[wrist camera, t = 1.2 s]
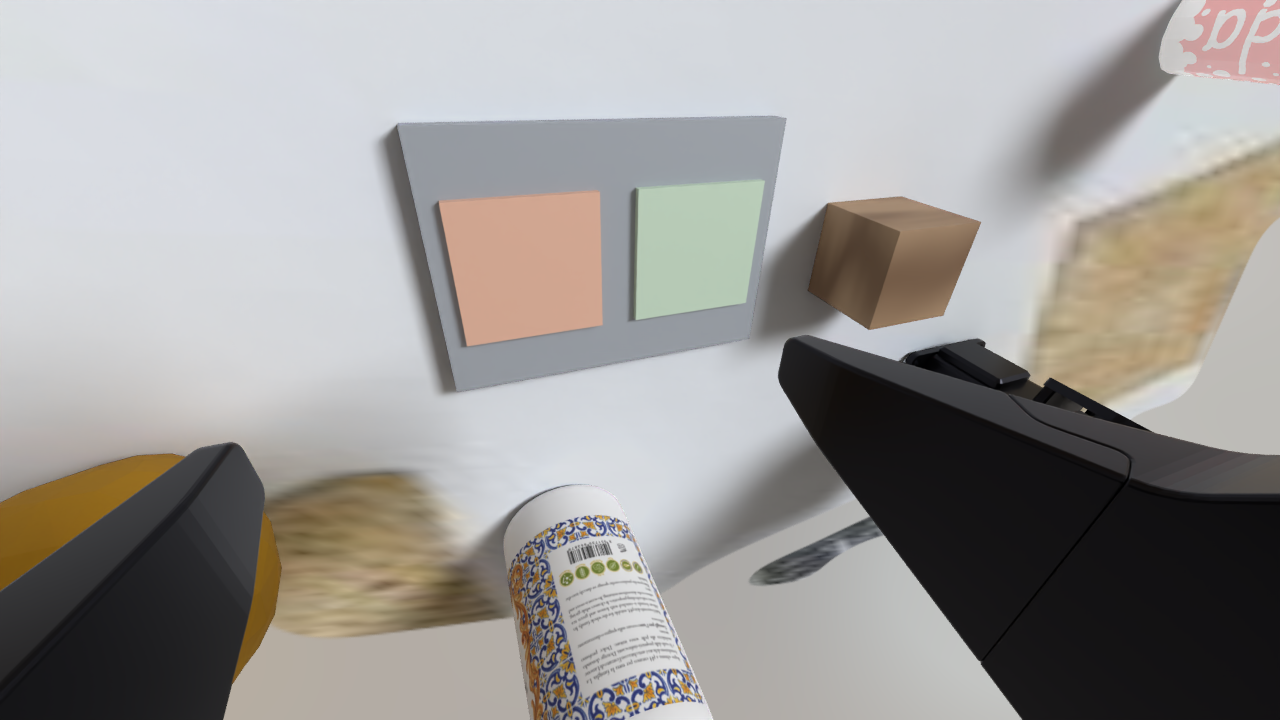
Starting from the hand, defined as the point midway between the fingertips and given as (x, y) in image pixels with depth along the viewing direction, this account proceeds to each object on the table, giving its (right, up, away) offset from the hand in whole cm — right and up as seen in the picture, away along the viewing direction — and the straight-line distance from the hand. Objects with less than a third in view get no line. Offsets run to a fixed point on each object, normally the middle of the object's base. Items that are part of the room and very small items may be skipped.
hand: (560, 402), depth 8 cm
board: (0, +5, +12) cm, 13 cm away
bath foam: (-3, -9, +20) cm, 22 cm away
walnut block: (+12, +7, +17) cm, 22 cm away
